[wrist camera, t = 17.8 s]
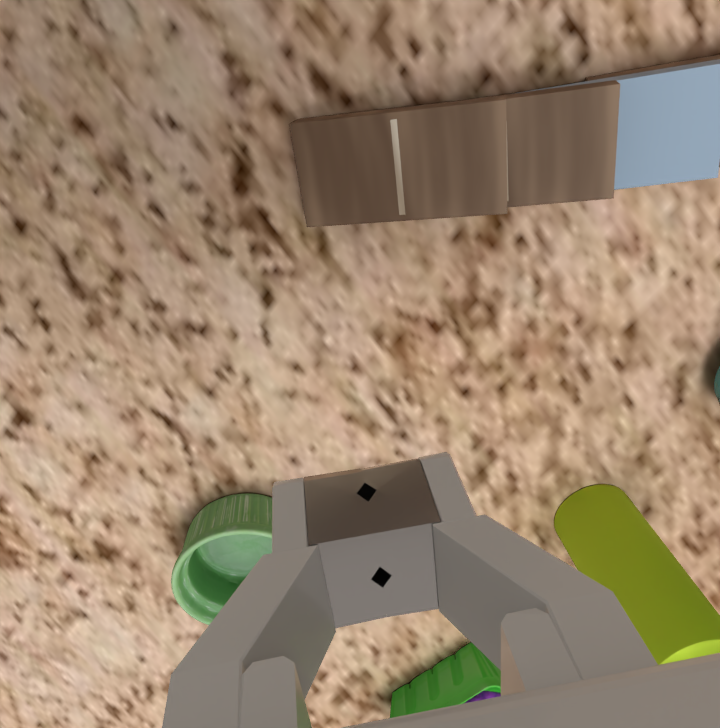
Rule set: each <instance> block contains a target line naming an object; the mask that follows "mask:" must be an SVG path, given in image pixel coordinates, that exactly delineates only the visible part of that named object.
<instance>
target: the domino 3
mask: <svg viewBox="0 0 720 728" xmlns="http://www.w3.org/2000/svg"><path fill="white" fill-rule="evenodd" d="M612 80H616V81H617V82H618V83H620V98H619V115H618V132H617V149H616V166H615V183H614V190H616V189H624V188H633V187H641V186H650V185H658V184H667V183H675V182H684V181H692V180H701V179H709V178H718V171H719V162H720V59H717V60H711V61H705V62H699V63H693V64H687V65H681V66H675V67H669V68H663V69H657V70H651V71H645V72H639V73H633V74H627V75H621V76H615V77H609V78H603V79H597V80H591V81H585V82H579V83H573V84H567V85H561V86H555V87H549V88H543V89H537V90H544V89H551V88H559V87H566V86H574V85H581V84H589V83H597V82H604V81H612ZM531 91H536V90H531ZM525 92H529V91H525ZM519 93H521V92H519ZM513 94H514V93H513Z"/></svg>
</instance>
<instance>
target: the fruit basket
mask: <svg viewBox="0 0 720 728" xmlns="http://www.w3.org/2000/svg"><path fill="white" fill-rule="evenodd" d="M499 696H501V670H500V669H499V668H498V667H496V666H495V665H494V664H493V663H492V662H491V661H490V660H489V659H488V658H487V657H486V656H485V655H484V654H483V653H482V652H481V651H480V650H479V649H478V648H477V647H476V646H475V645H474V644H473V643H469V644H467V645H466V646H464V647H463V648H461V649H460V650H458V651H457V652H456V654H455V655H452V656H449V657H447V658H446V659H444V660H442V661H441V662H439V663H438V664H436V665H435V666H434V667H433V669H430V670H427V671H425V672H424V673H422V674H421V675H419V676H417V677H416V678H414V679H413V680H412V681H411V683H410V684H406V685H404V686H402V687H400V688H399V689H397V690H396V691H394V692H393V693H392V702H391V712H390V718H393V717H398V716H403V715H408V714H414V713H419V712H424V711H429V710H434V709H439V708H444V707H449V706H454V705H459V704H464V703H469V702H474V701H479V700H484V699H489V698H494V697H499Z"/></svg>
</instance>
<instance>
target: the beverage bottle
mask: <svg viewBox="0 0 720 728" xmlns="http://www.w3.org/2000/svg"><path fill="white" fill-rule="evenodd" d="M714 390H715V394H716V397H717V398H718V401H719V402H720V367H719V368H718V371H717V373H716V377H715V381H714ZM719 404H720V403H719Z"/></svg>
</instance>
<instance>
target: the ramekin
mask: <svg viewBox="0 0 720 728" xmlns="http://www.w3.org/2000/svg"><path fill="white" fill-rule="evenodd" d="M270 553H272V498H271V497H268V496H265V495H259V494H250V493H246V494H235V495H230V496H226V497H223V498H221V499H218V500H216V501H214V502H212V503H210V504H208V505H207V506H205V507H204V508H203V509H202V510H201V511H200V512H199V513H198V514H197V515H196V517H195V518H194V519H193V521H192V523H191V525H190V527H189V530H188V533H187V536H186V539H185V543H184V546H183V550H182V552H181V554H180V555H179V557H178V559H177V561H176V563H175V566H174V568H173V572H172V578H171V584H172V590H173V594H174V596H175V599H176V600H177V602H178V604H179V605H180V606H181V607H182V609H183V610H184V611H185V612H187V613H188V614H189V615H190V616H192V617H193V618H195V619H196V620H198V621H200V622H202V623H205V624H207V625H210V623H211V622H212V621H213V619H214V618H215V617H216V616H217V614H218V613H219V612H220V610H221V609H222V608H223V606H224V605H225V604H226V603H227V601H228V600H229V599H230V597H231V596H232V595H233V593H234V592H235V591H236V590H237V588H238V587H239V586H240V584H241V583H242V582H243V580H244V579H245V578H246V576H247V575H248V574H249V573H250V571H251V570H252V569H253V567H254V566H255V565H256V563H257V562H258V561H259V560H260V558H261V557H262V556H263V555H265V554H270Z"/></svg>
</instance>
